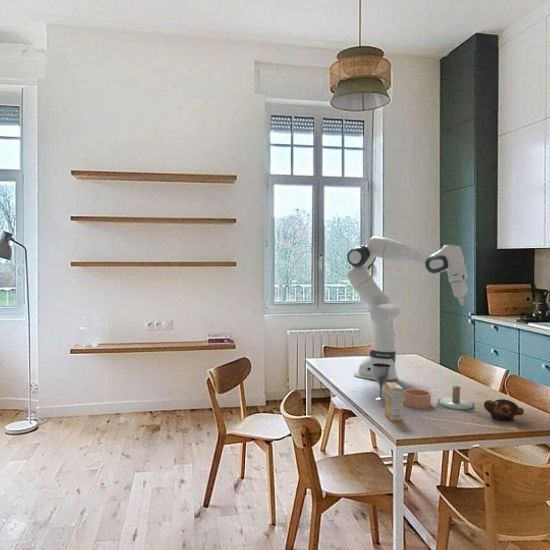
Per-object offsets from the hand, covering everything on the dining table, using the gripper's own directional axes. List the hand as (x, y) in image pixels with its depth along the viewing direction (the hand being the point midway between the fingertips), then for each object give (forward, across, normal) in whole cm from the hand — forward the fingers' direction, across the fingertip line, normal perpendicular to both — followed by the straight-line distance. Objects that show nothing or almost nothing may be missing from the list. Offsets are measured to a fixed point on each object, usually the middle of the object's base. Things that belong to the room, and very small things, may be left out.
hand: (464, 304), depth 240 cm
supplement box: (+33, +67, -24) cm, 78 cm away
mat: (+38, +37, -6) cm, 54 cm away
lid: (+38, +37, -6) cm, 54 cm away
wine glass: (+31, +43, -36) cm, 64 cm away
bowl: (+35, +44, -20) cm, 60 cm away
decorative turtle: (+42, +46, +13) cm, 64 cm away
